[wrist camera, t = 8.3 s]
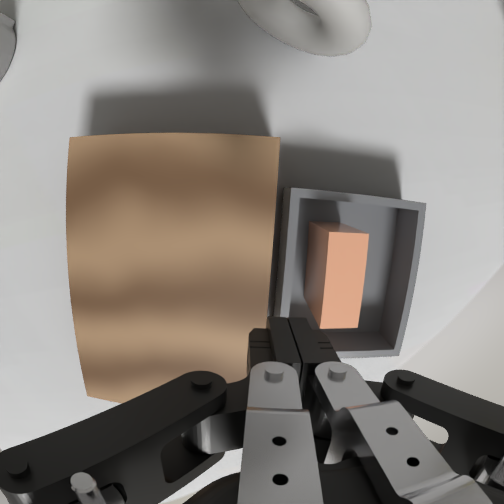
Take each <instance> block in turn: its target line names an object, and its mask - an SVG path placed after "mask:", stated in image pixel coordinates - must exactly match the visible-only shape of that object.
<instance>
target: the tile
mask: <svg viewBox="0 0 504 504" xmlns="http://www.w3.org/2000/svg"><path fill="white" fill-rule="evenodd" d="M368 240H369V234H368V233H366V232H363V231H361V230H358V229H356V228H353V227H351V226H348V225H346V224H343V223H340V222H320V221H309V231H308V247H307V262H306V275H305V288H304V299H305V301H306V302H307V304H308V306H309V308H310V310H311V312H312V314H313V316H314V318H315V320H316V322H317V324H318V326H319V328H320V329H334V328H358V322H359V315H360V308H361V301H362V294H363V286H364V278H365V270H366V261H367V251H368Z"/></svg>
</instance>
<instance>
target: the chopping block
mask: <svg viewBox="0 0 504 504" xmlns="http://www.w3.org/2000/svg"><path fill="white" fill-rule="evenodd" d="M279 149H280V137H268V136H255V135H238V134H215V133H132V134H110V135H94V136H81V137H70V140H69V151H68V166H67V188H66V237H67V260H68V274H69V286H70V296H71V306H72V314H73V321H74V328H75V335H76V341H77V347H78V353H79V359H80V364H81V369H82V374H83V379H84V383H85V388H86V392H87V396H90V397H94V398H99V399H103V400H108V401H113V402H118V403H124V402H126V401H129V400H131V399H133V398H135V397H137V396H140V395H142V394H144V393H146V392H148V391H150V390H152V389H154V388H157V387H159V386H161V385H163V384H165V383H167V382H169V381H171V380H173V379H175V378H177V377H179V376H181V375H183V374H185V373H188V372H192V371H210V372H213V373H216V374H219V375H220V376H222V377H223V378H224V379H225V380H226V382H227V383H232V382H237V381H240V380H242V379H244V378H246V377H247V352H248V338H249V333H250V332H251V331H252V330H253V328H266V321H267V310H268V298H269V286H270V274H271V262H272V249H273V236H274V223H275V209H276V195H277V180H278V165H279Z"/></svg>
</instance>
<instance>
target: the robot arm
mask: <svg viewBox="0 0 504 504" xmlns="http://www.w3.org/2000/svg"><path fill="white" fill-rule="evenodd" d="M14 23H15V21H14V20H13V19H11V18H9V17H8V16H6V15H4V14H3V13H1V12H0V81H1V79H2V78H3V76H4V74H5V73H6V71H7V69H8V67H9V65H10V62H11V59H12V57H13V54H14V50H15V43H16V38H15V33H14V30H13V26H14ZM414 415H416V416H418V417H421V418H423V419H425V420H427V421H430V422H432V423H435V424H437V425H439V426H441V427H443V428H445V429H446V430H447V432H448V435H449V437H448V440H447V442H446V443H444V444H438V443H436V442H433V441H431V440H429V439H428V438H427V437H426V435H425V434H424V433H423V432H422V430H421V429H420V428H419V427H418V425H417V424H416V423H415V421H414V420H413V417H414ZM240 448H243V452H242V462H241V472H238V473H234V474H231V475H228V476H225V477H222V478H220V479H218V480H216V481H214V482H212V483H210V484H209V485H207V486H205V487H204V488H202V489H201V490H200V491H198V492H197V493H196V494H195V495H193V496H192V497H191V498H190V499H188V500H187V501H186V502H184V503H183V504H504V407H503V406H501V405H498V404H495V403H492V402H489V401H487V400H484V399H481V398H479V397H476V396H473V395H470V394H468V393H465V392H462V391H460V390H457V389H454V388H452V387H449V386H447V385H444V384H442V383H439V382H436V381H434V380H431V379H429V378H426V377H424V376H421V375H419V374H416V373H413V372H411V371H407V370H393V371H390V372H388V373H387V374H386V375H385V377H384V381H383V383H382V382H373V381H366V380H364V379H363V378H362V376H361V375H360V374H359V372H358V371H357V370H356V369H355V368H354V367H352V366H351V365H348V364H346V363H342V362H341V361H340V359H339V357H338V355H337V353H336V351H335V350H334V349H333V346H332V344H331V343H330V340H329V338H328V337H327V335H326V334H324V333H323V332H321V331H320V330H313V329H311V327H310V325H309V323H308V321H307V319H306V318H305V317H287V318H286V317H270V316H268V317H267V321H266V328H253V330H252V331H251V332H250V333H249V338H248V352H247V377H246V378H244V379H242V380H240V381H237V382H232V383H227V382H226V380H225V379H224V378H223V377H222V376H220V375H219V374H216V373H213V372H210V371H192V372H188V373H185V374H183V375H181V376H179V377H177V378H175V379H173V380H171V381H169V382H167V383H165V384H163V385H161V386H159V387H157V388H154V389H152V390H150V391H148V392H146V393H144V394H142V395H140V396H137V397H135V398H133V399H131V400H129V401H126V402H124V403H122V404H120V405H118V406H115V407H113V408H111V409H108V410H106V411H104V412H102V413H99V414H97V415H95V416H92V417H90V418H87V419H85V420H83V421H80V422H78V423H75V424H73V425H70V426H68V427H65V428H63V429H60V430H58V431H55V432H53V433H50V434H47V435H45V436H42V437H39V438H37V439H34V440H31V441H29V442H26V443H23V444H20V445H17V446H14V447H11V448H9V449H6V450H4V451H2V452H1V453H0V489H1V491H2V492H3V494H4V495H5V496H6V498H7V500H8V502H9V504H158V503H160V502H161V501H163V500H164V499H166V498H168V497H169V496H171V495H172V494H174V493H175V492H177V491H178V490H179V489H181V488H182V487H184V486H185V485H187V484H188V483H190V482H191V481H192V480H194V479H195V478H197V477H198V476H199V475H201V474H202V473H203V472H205V471H206V470H208V469H209V468H210V467H212V466H213V465H214V464H216V463H217V462H218V461H219V460H221V459H222V458H223V456H224V454H225V451H230V450H235V449H240Z"/></svg>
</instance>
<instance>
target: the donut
mask: <svg viewBox="0 0 504 504" xmlns="http://www.w3.org/2000/svg"><path fill="white" fill-rule="evenodd" d="M299 1H300V2H302V3H304V4H305V5H307V6H308V7H310V8H311V9H312V10H313V11H314V12H315V13H316V14H317V15H315V14H312V13H310V12H307V11H305V10H303V9H301V8H300V7H298V6H296V5H295V4H294V3H293V2H292V1H290V0H238V2H239V4H240V5H241V7H242V8H243V10H244V11H245V13H246V14H247V15H248V16H249V17H250V18H251V19H252V20H253V21H254V22H255V23H256V24H257V25H258V26H259V27H260V28H262V29H263V30H264V31H266V32H267V33H268V34H270V35H271V36H273V37H275V38H276V39H278V40H280V41H281V42H283V43H285V44H287V45H290V46H292V47H294V48H296V49H298V50H301V51H304V52H308V53H311V54H314V55H321V56H328V57H332V56H341V55H347V54H350V53H352V52H353V51H355V50H357V49H358V48H360V47H361V46H362V45H363V44H364V43H365V42H366V40H367V37H368V35H369V33H370V30H371V27H372V23H371V16H370V9H369V5H368V3H367V2H366V0H299Z"/></svg>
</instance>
